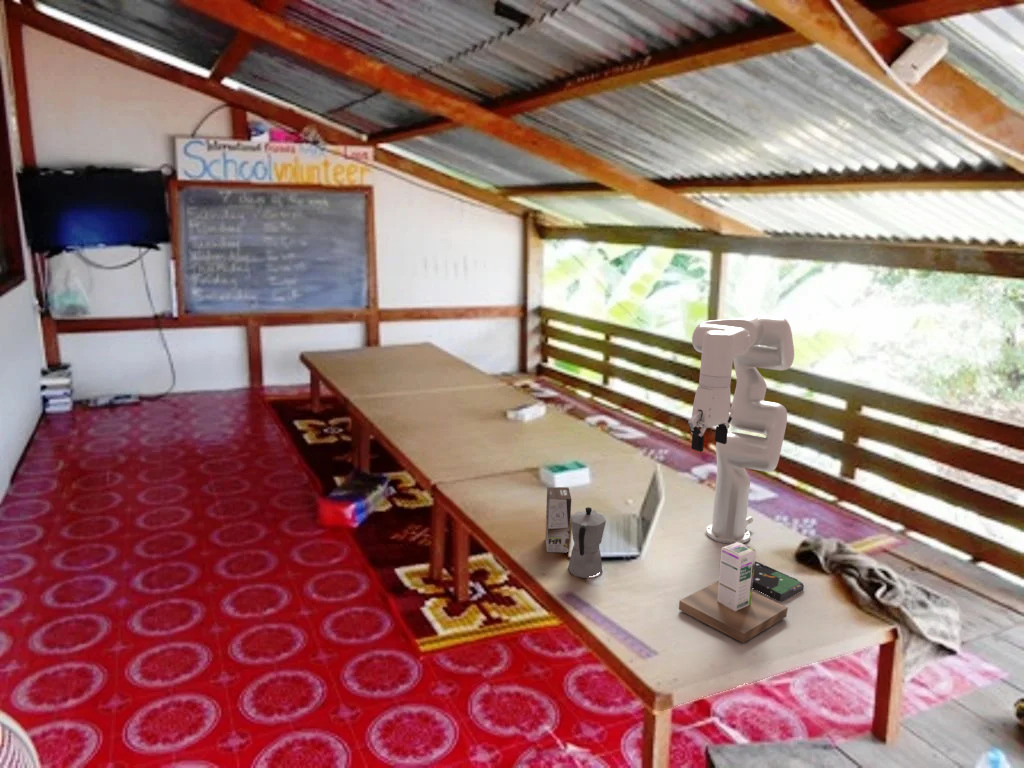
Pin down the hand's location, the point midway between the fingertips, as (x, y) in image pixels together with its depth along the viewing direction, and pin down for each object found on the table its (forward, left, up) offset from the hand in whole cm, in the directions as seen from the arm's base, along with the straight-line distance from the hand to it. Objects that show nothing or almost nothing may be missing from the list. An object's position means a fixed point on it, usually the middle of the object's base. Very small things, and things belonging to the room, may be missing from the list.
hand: (709, 446), depth 195 cm
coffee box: (+17, -36, -36) cm, 54 cm away
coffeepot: (+22, -20, -36) cm, 47 cm away
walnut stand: (+9, +17, -36) cm, 41 cm away
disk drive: (-11, +14, -37) cm, 41 cm away
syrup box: (+9, +17, -34) cm, 38 cm away
